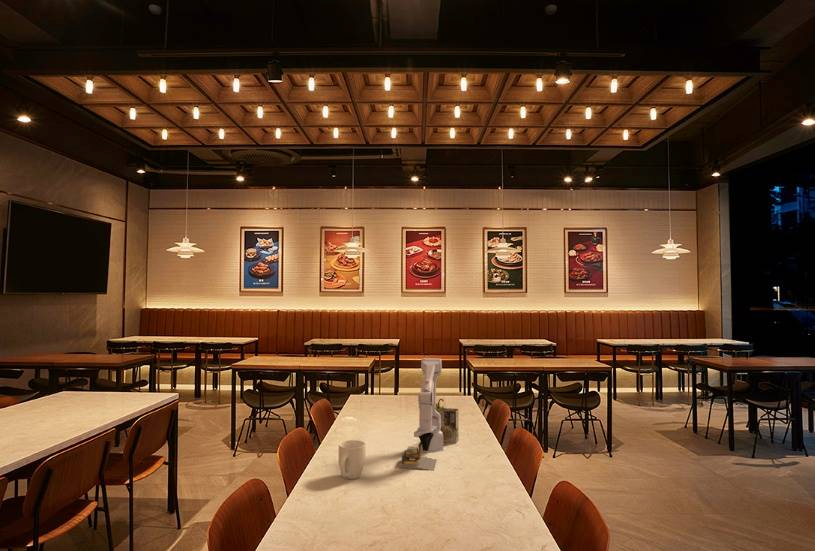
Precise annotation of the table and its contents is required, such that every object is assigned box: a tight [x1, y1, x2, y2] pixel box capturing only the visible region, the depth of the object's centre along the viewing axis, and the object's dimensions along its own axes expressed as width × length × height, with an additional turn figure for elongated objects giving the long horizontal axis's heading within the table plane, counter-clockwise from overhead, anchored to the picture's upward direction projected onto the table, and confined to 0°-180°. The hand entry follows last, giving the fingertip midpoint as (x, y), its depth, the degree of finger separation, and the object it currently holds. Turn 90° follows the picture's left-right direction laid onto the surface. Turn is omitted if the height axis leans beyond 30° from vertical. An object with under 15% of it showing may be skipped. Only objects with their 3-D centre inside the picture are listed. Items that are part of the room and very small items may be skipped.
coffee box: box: [439, 407, 460, 444], centre depth 232 cm, size 9×6×16 cm
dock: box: [398, 449, 438, 472], centre depth 197 cm, size 15×14×4 cm
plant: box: [432, 398, 445, 417], centre depth 284 cm, size 20×20×11 cm
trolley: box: [406, 441, 423, 460], centre depth 198 cm, size 6×6×7 cm
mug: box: [338, 439, 367, 480], centre depth 181 cm, size 15×11×13 cm
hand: (425, 450), depth 197 cm, fingers closed
